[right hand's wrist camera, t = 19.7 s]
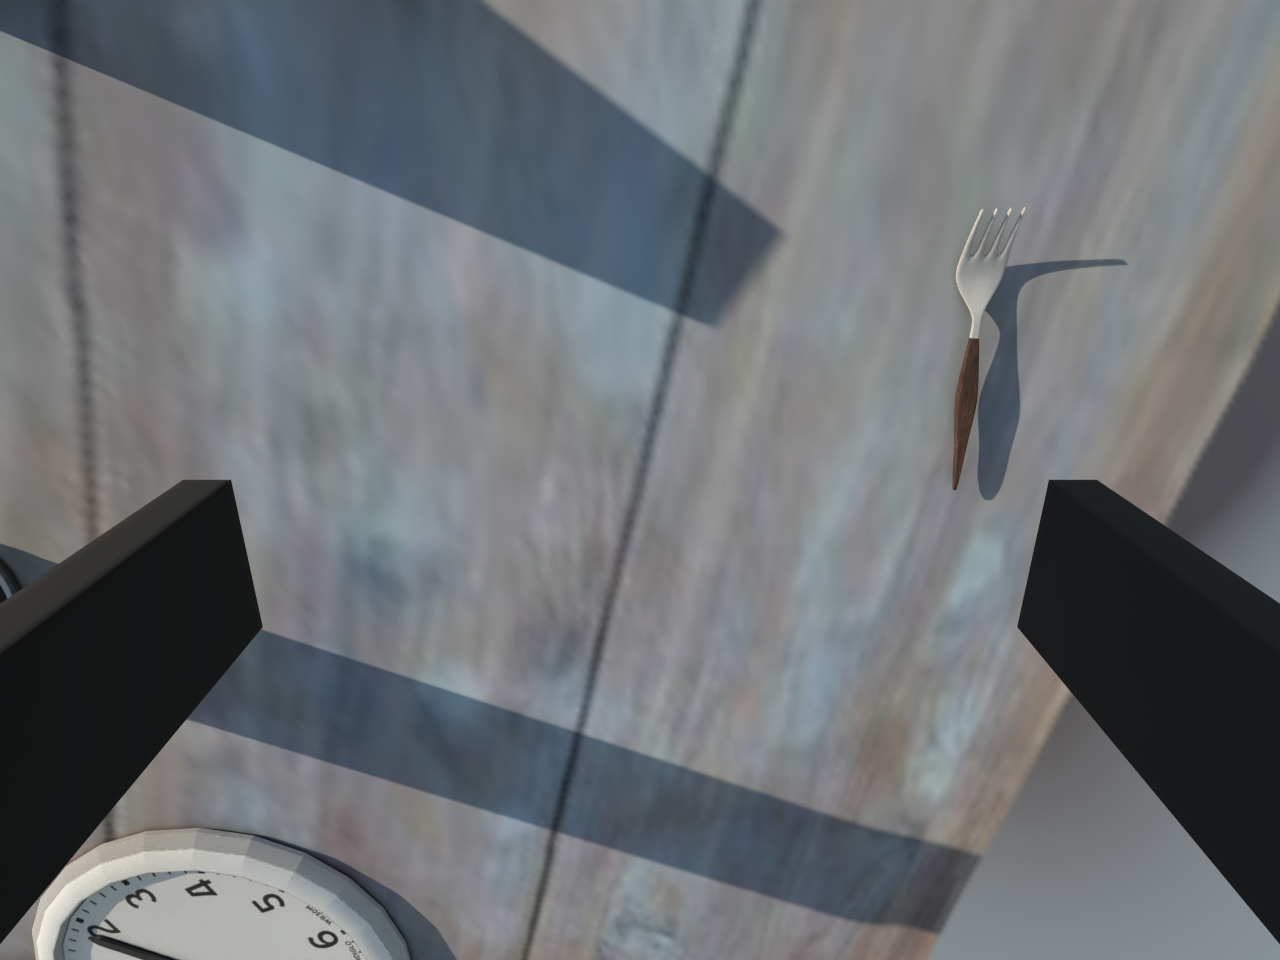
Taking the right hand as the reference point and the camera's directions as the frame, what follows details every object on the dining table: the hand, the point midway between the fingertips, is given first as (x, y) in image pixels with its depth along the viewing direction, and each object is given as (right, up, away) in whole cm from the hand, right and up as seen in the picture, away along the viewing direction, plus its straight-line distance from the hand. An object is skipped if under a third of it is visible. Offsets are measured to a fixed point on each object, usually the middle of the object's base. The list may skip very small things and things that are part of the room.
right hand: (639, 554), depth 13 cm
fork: (+18, +8, +31) cm, 37 cm away
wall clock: (-33, -38, +50) cm, 71 cm away
